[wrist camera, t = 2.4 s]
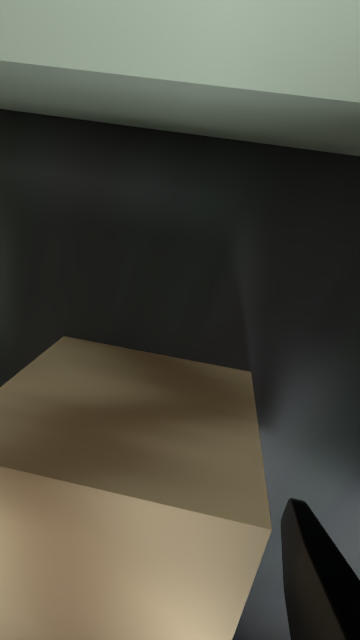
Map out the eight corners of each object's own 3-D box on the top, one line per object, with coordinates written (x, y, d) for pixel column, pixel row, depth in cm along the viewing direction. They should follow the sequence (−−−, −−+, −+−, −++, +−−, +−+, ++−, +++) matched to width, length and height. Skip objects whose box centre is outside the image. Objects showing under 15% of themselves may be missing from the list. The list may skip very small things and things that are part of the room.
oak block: (250, 369, 9) (271, 529, 5) (216, 505, 12) (208, 704, 7) (65, 334, 10) (-76, 448, 5) (66, 470, 12) (-33, 634, 8)
